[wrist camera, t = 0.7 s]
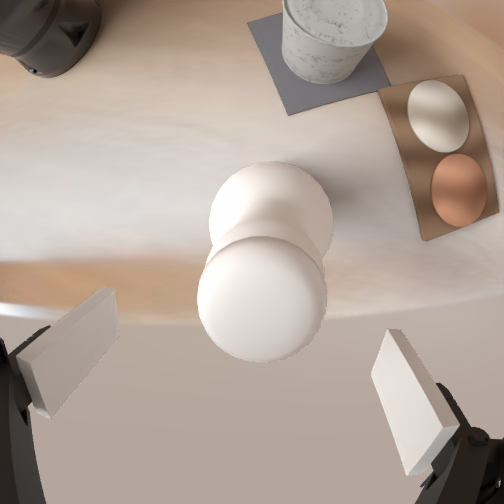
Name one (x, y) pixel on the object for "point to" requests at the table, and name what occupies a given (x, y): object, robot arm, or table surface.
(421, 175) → the board
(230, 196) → the bottle
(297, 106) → the mat
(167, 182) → the table surface
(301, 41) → the grey marbled cylinder
